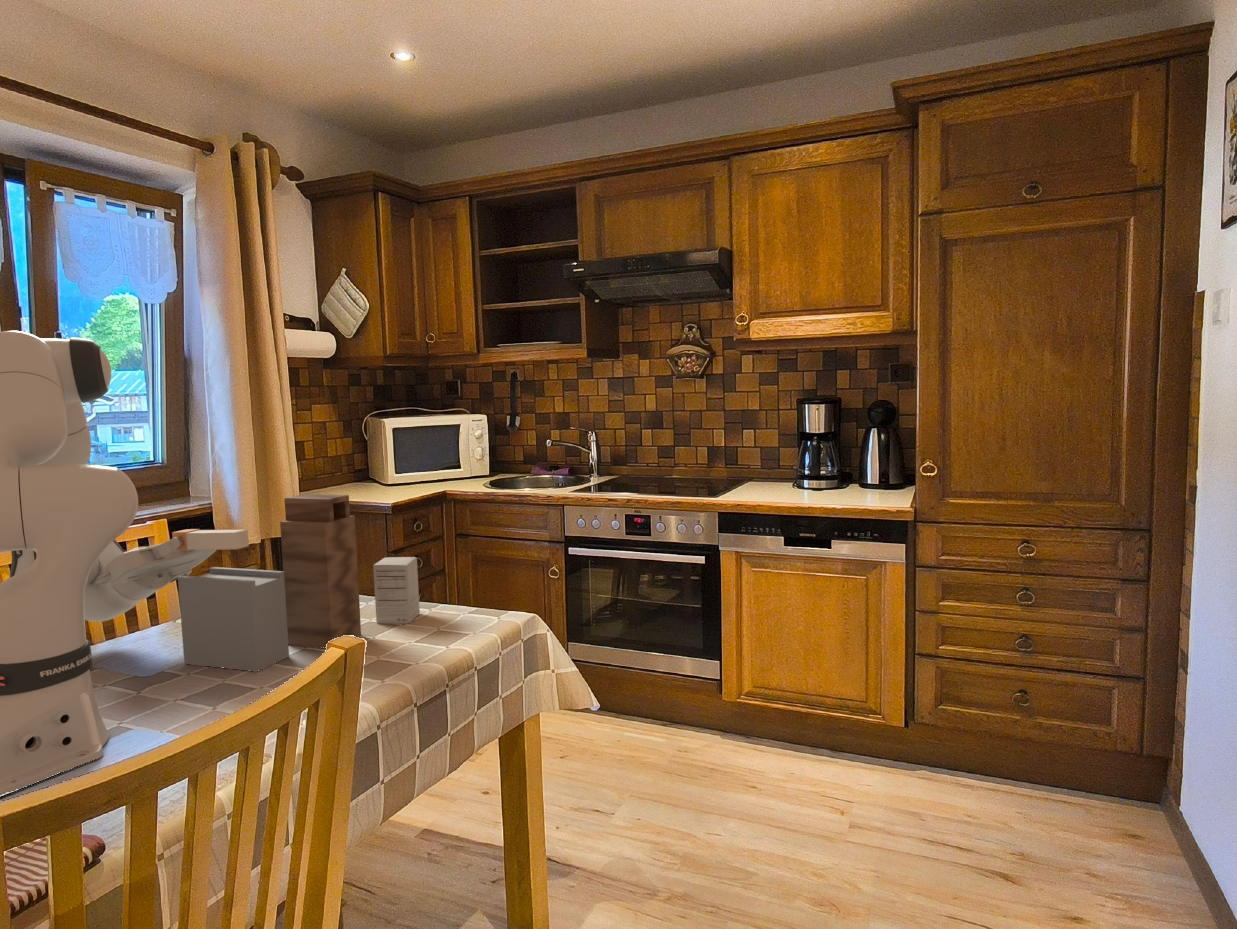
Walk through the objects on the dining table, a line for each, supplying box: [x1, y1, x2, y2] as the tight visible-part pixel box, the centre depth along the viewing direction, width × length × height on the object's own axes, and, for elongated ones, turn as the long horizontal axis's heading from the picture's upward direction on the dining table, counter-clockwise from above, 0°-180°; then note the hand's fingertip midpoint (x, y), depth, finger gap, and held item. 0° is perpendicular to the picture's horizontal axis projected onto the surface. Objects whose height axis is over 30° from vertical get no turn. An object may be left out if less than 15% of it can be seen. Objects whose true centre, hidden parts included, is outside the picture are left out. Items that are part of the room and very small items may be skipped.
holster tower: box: [279, 493, 362, 650], centre depth 150 cm, size 9×10×28 cm
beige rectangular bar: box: [171, 528, 250, 550], centre depth 139 cm, size 3×14×3 cm, turn 72°
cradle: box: [177, 566, 290, 673], centre depth 139 cm, size 8×16×16 cm, turn 73°
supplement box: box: [372, 556, 420, 624], centre depth 164 cm, size 7×7×13 cm
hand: (190, 537), depth 141 cm, fingers closed on beige rectangular bar, 3 cm apart
